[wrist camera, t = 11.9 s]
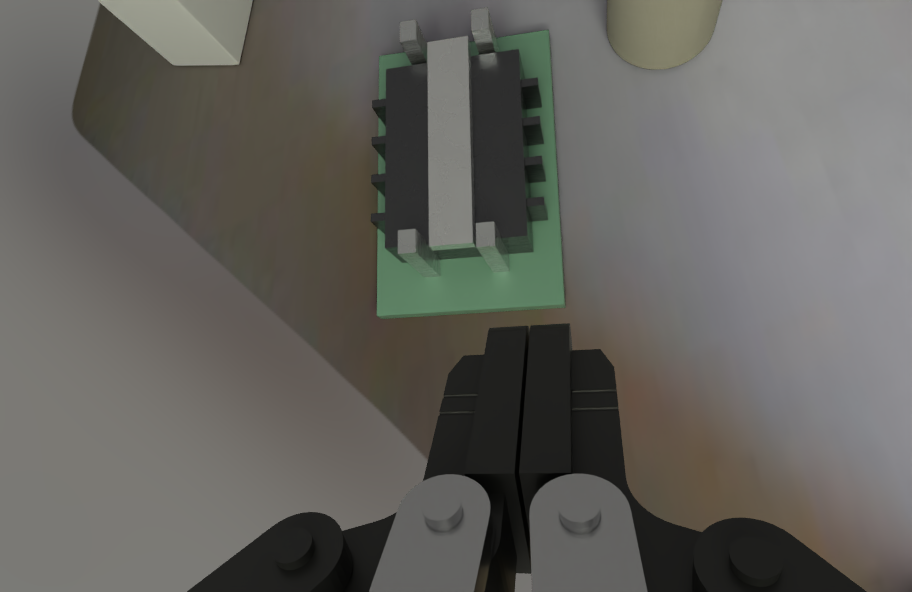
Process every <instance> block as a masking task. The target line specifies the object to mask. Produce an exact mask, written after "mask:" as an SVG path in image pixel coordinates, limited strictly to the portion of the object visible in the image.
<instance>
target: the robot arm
mask: <svg viewBox="0 0 912 592" xmlns="http://www.w3.org/2000/svg"><path fill="white" fill-rule="evenodd" d="M516 573H530V574H531V576H532V592H866V591H865V590H864V589H862V588H861V587H860V586H858V585H857V584H856V583H854V582H853V581H852V580H850V579H849V578H848V577H846V576H845V575H844V574H842V573H841V572H840V571H838V570H837V569H836V568H835V567H833V566H832V565H831V564H829V563H828V562H827V561H825V560H824V559H823V558H821V557H820V556H819V555H817V554H816V553H815V552H813V551H812V550H811V549H809V548H808V547H807V546H805V545H804V544H803V543H801V542H800V541H799V540H797V539H796V538H795V537H793V536H792V535H791V534H789V533H788V532H786V531H785V530H783V529H781V528H779V527H777V526H775V525H773V524H770V523H767V522H764V521H761V520H756V519H750V518H731V519H725V520H722V521H719V522H716V523H714V524H712V525H711V526H709V527H708V528H707V529H705V530H704V531H703V532H699V531H695V530H692V529H689V528H685V527H682V526H678V525H675V524H672V523H669V522H666V521H664V520H662V519H660V518H658V517H656V516H654V515H653V514H651V513H650V512H648V511H647V510H646V509H645V508H643V507H642V506H641V505H640V504H639V503H638V502H637V500H636V499H635V498H634V497H633V495H632V493H631V492H630V490H629V487H628V485H627V481H626V475H625V466H624V456H623V447H622V438H621V428H620V419H619V411H618V400H617V391H616V381H615V371H614V366H613V365H612V364H611V363H610V361H609V360H608V359H607V357H606V356H605V355H604V353H603V352H602V351H601V350H600V349H593V350H572V340H571V330H570V323H568V324H551V325H533V326H531V327H530V331H529V327H528V326H518V327H500V328H490V329H489V331H488V337H487V342H486V348H485V354H484V355H469V356H463V357H462V358H461V359H460V361H459V362H458V363H457V364H456V366H455V367H454V368H453V369H452V370H451V372H450V373H449V374H448V379H447V383H446V387H445V391H444V398H443V400H442V404H441V408H440V416H438V421H437V425H436V429H435V433H434V438H433V442H432V446H431V450H430V454H429V459H428V463H427V467H426V471H425V476H424V479H423V482H421V483H419V484H418V485H416V486H415V487H414V488H413V489H411V490H410V491H409V492H408V493H407V494H406V496H405V497H404V499H403V500H402V501H401V504H400V506H399V508H398V511H397V512H396V513H395V514H393V515H391V516H389V517H387V518H385V519H382V520H379V521H376V522H373V523H369V524H365V525H362V526H358V527H355V528H351V529H348V530H344V531H342V530H341V528H340V526H339V525H338V524H337V522H336V521H335V520H334V519H332V518H331V517H330V516H327V515H325V514H322V513H316V512H308V513H300V514H296V515H293V516H290V517H288V518H286V519H284V520H282V521H280V522H278V523H277V524H275V525H274V526H273V527H271V528H270V529H268V530H267V531H266V532H265V533H263V534H262V535H261V536H259V537H258V538H257V539H255V540H254V541H253V542H252V543H250V544H249V545H248V546H246V547H245V548H244V549H242V550H241V551H240V552H238V553H237V554H236V555H234V556H233V557H232V558H230V559H229V560H228V561H227V562H225V563H224V564H223V565H221V566H220V567H219V568H217V569H216V570H215V571H213V572H212V573H211V574H210V575H208V576H207V577H206V578H204V579H203V580H202V581H201V582H199V583H198V584H196V585H195V586H194V587H193V588H191V589H190V590H189V591H187V592H514V591H515V576H516Z"/></svg>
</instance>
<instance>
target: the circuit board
mask: <svg viewBox="0 0 912 592" xmlns="http://www.w3.org/2000/svg"><path fill="white" fill-rule="evenodd" d="M496 40H497V44H498V48H499V51H500V52H502V51H508V50H515V49H519V52H520V57H521V61H522V66H523V71H524V75H525V79H529V78H536V77H538V82H539V88H540V93H541V99H542V107H541V108H534V109H527V117H534V116H540V120H541V125H542V130H543V135H544V144H539V145H531V146H529V157H534V156H542V159H543V163H544V168H545V173H546V182H537V183H530V187H531V198H535V197H544V199H545V203H546V207H547V211H548V220H546V221H535V222H532V229H533V250H534V252H531V253H518V254H509V265H510V271H508V272H495V273H493V271H492V270H491V268H490V267H489V265H488V264H487V262H486V261H485V259H484V258H483V256H482V257H469V258H457V259H445V260H440V267H441V277H429V278H425V277H424V276H423V275H421V274H420V273H419V272H418V271H417V270H416V269H415V268H413V267H412V266H411V265H410V264H409V263H402V262H401V261H399V260H398V259H397V258H396V257H395V256H393V255H392V254H391V253H390V252H389V251H388V250H386V249H385V234H384V233H383V232H382V231H381V230H379V229H378V249H377V316H378V317H380V318H382V319H388V318H404V317H420V316H436V315H453V314H469V313H485V312H501V311H517V310H534V309H550V308H565V291H564V274H563V256H562V239H561V222H560V205H559V188H558V171H557V154H556V137H555V120H554V103H553V86H552V69H551V52H550V37H549V30H543V31H537V32H531V33H524V34H518V35H511V36H505V37H499V38H496ZM470 44H471V56H475V55H479V52H478V49H477V46H476V43H475V41H473V42H470ZM410 65H411V63H410V61H409V59H408V57H407V55H406V53H405V52H403V53H397V54H390V55H384V56H379V100H380V99H386V69H390V68H396V67H403V66H410ZM379 136H386V127H385V125H384V124H383V122H382V121H381V119H380V118H379ZM378 174H385V161H384V159H383V158H382V157H381V156H380V154H379V153H378ZM378 213H385V197H384V196H383V195H382V194H381V193H380V191H379V190H378Z"/></svg>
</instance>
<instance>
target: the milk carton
mask: <svg viewBox="0 0 912 592" xmlns="http://www.w3.org/2000/svg"><path fill="white" fill-rule="evenodd" d="M98 1H99V2H100V3H101V4H102V5H103V6H105V7H106V8H107V9H108V10H109V11H110V12H112V13H113V14H114V15H115V16H116V17H117V18H119V19H120V20H121V21H122V22H123V23H124V24H126V25H127V26H128V27H129V28H130V29H131V30H133V31H134V32H135V33H136V34H137V35H138V36H140V37H141V38H142V39H143V40H144V41H145V42H147V43H148V44H149V45H150V46H151V47H152V48H154V49H155V50H156V51H157V52H158V53H159V54H161V55H162V56H163V57H164V58H165V59H166V60H168V61H169V62H170V63H171V64H172V65H176V66H186V65H239V63H240V59H241V54H242V50H243V45H244V40H245V35H246V31H247V26H248V21H249V17H250V12H251V7H252V2H253V0H98Z"/></svg>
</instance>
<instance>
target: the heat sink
mask: <svg viewBox="0 0 912 592" xmlns="http://www.w3.org/2000/svg"><path fill="white" fill-rule="evenodd" d="M471 30H472V34H473V37H474V40H475V43H476V46H477V49H478V52H479V55H475V56H471V80H472V119H473V158H474V197H475V236H476V247H470V248H458V249H446V250H435V251H433V250H432V249H431V248H430V247H429V188H428V64H427V43H426V41H425V39H424V36H423V34H422V32H421V30H420V27H419V25H418V23H417V21H416V20H410V21H404V22H400V43H401V45H402V47H403V49H404V51H405V53H406V55H407V57H408V59H409V61H410V63H411V65H410V66H403V67H396V68H390V69H386V99H380V100H373V101H372V108H373V110H374V111H375V112H376V114H377V115H378V117H379V118H380V119H381V121H382V122H383V124H384V125H385V127H386V136H378V137H372V146H373V147H374V148H375V149H376V151H377V152H378V153H379V154H380V156H381V157H382V158H383V159H384V161H385V174H376V175H372V177H371V183H372V184H373V185H374V186H375V187H376V188H377V189H378V190H379V191H380V193H381V194H382V195H383V196H384V197H385V213H375V214H371V222H372V223H373V224H374V225H375V226H376V227H377V228H378V229H379V230H381V231H382V232H383V233H384V234H385V249H386V250H388V251H389V252H390V253H391V254H392V255H393V256H395V257H396V258H397V259H398V260H399V261H401V262H402V263H409V264H410V265H411V266H412V267H413V268H415V269H416V270H417V271H418V272H419V273H420V274H421V275H423V276H424V277H425V278H429V277H441V267H440V260H445V259H457V258H469V257H482V256H483V258H484V259H485V261H486V262H487V264H488V265H489V267H490V268H491V270H492V271H493V273H495V272H508V271H510V265H509V254H518V253H531V252H534V250H533V229H532V222H535V221H546V220H548V211H547V207H546V203H545V199H544V197H535V198H531V187H530V183H537V182H546V173H545V168H544V163H543V159H542V156H534V157H529V146H531V145H539V144H544V135H543V130H542V125H541V120H540V116H534V117H527V109H534V108H541V107H542V99H541V93H540V88H539V82H538V77H536V78H529V79H525V75H524V71H523V66H522V61H521V57H520V52H519V49H515V50H508V51H502V52H500V51H499V48H498V44H497V40H496V36H495V32H494V29H493V25H492V21H491V17H490V14H489V10H488V7H487V8H481V9H475V10H471Z"/></svg>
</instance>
